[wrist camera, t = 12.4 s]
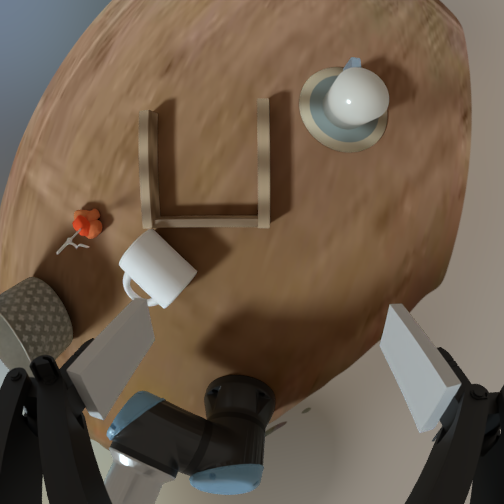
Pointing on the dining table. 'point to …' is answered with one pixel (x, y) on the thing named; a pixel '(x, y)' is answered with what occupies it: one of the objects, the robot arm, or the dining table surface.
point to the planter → (32, 324)
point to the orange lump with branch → (84, 226)
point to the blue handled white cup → (355, 97)
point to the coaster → (324, 128)
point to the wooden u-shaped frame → (154, 220)
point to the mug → (155, 269)
